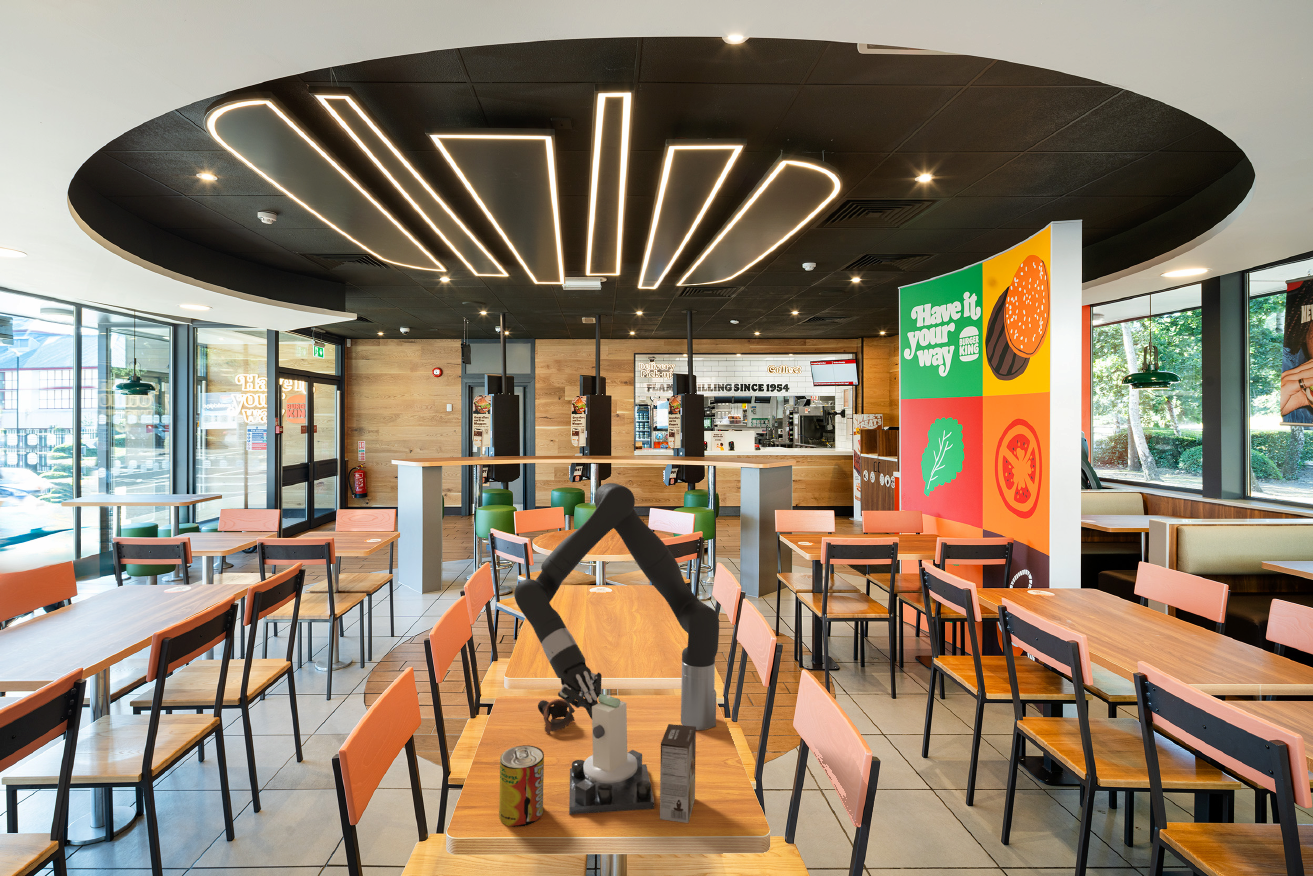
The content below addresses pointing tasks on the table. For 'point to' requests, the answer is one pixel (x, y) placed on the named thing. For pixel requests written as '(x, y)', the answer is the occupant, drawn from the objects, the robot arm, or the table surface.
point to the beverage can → (521, 786)
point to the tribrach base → (618, 793)
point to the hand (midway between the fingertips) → (599, 719)
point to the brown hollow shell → (556, 714)
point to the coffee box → (677, 773)
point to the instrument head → (609, 743)
